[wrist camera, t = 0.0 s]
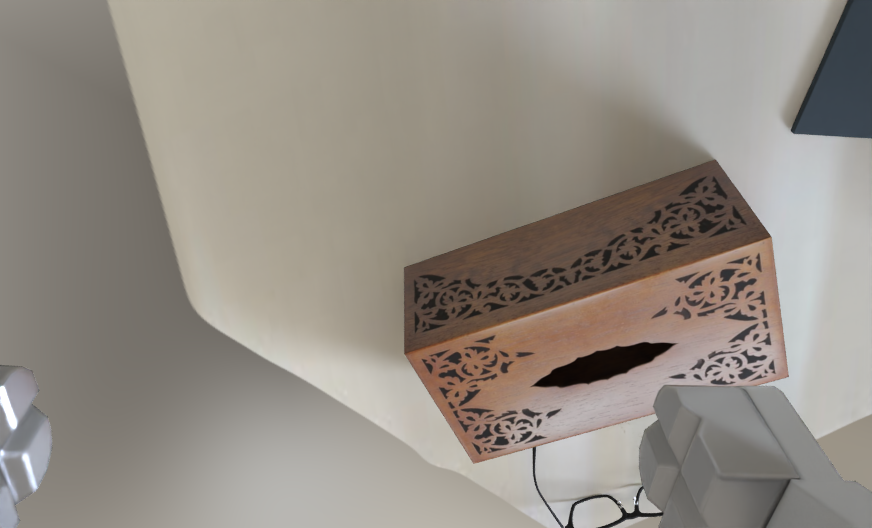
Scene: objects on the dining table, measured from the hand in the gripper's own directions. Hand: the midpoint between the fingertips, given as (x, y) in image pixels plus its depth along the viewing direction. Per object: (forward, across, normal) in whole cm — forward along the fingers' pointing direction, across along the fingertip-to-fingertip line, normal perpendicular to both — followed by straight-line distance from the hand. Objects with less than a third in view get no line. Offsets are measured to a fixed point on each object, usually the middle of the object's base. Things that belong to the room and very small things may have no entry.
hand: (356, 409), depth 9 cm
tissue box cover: (+42, -17, +25) cm, 51 cm away
